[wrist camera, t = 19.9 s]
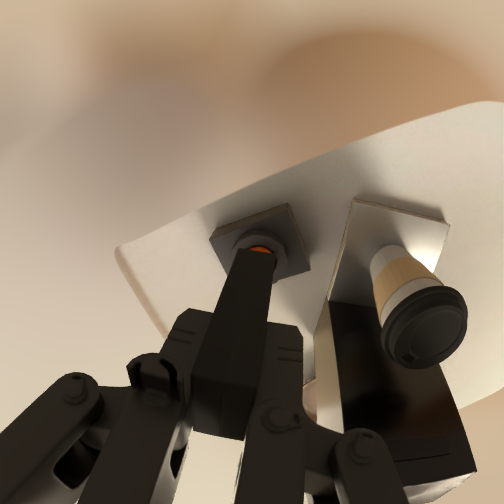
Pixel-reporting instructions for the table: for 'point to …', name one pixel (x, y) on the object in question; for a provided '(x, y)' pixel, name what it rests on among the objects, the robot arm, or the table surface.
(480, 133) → the table surface
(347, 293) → the coffee maker
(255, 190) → the table surface
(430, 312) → the coffee cup
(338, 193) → the table surface
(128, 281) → the table surface
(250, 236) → the control block
